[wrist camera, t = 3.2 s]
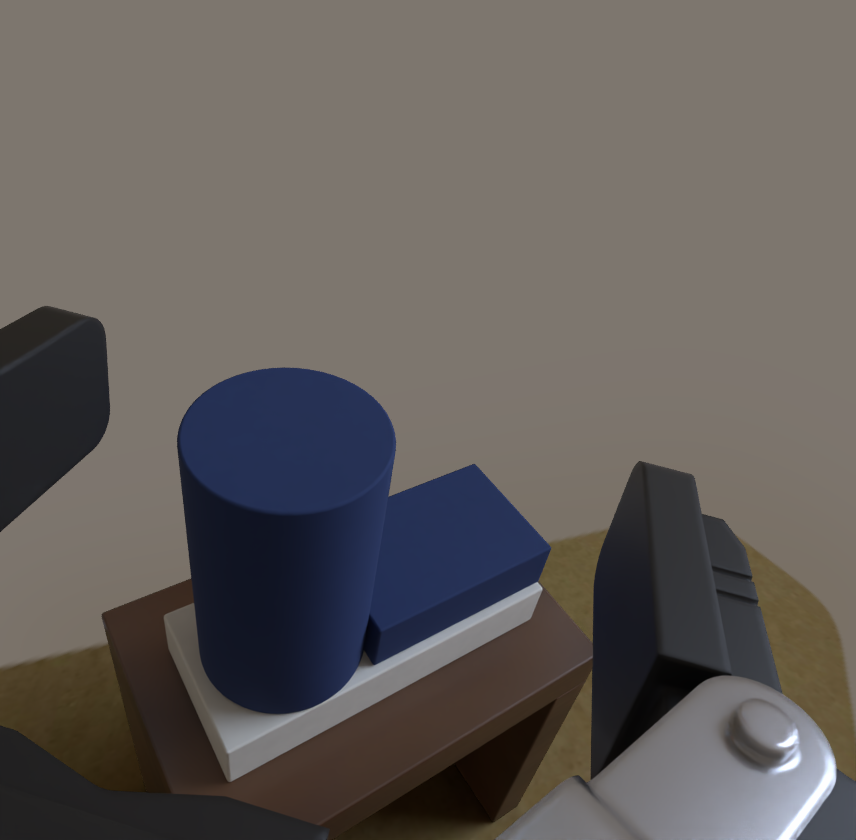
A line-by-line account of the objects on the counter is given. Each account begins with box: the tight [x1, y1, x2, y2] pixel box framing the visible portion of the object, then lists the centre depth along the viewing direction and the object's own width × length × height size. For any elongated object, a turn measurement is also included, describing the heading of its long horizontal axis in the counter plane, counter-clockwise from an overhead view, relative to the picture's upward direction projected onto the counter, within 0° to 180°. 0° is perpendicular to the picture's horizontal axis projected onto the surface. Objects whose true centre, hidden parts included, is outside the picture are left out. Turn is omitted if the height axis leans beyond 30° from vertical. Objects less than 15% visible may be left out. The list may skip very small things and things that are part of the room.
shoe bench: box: [102, 579, 593, 840], centre depth 31 cm, size 10×15×14 cm, turn 124°
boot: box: [164, 368, 551, 782], centre depth 23 cm, size 12×5×11 cm, turn 124°
